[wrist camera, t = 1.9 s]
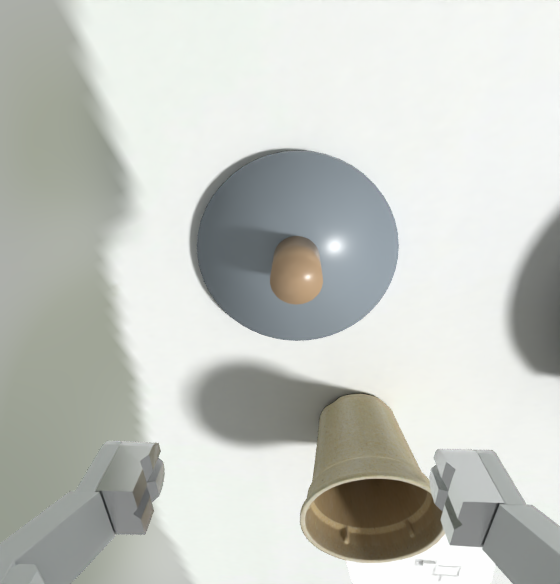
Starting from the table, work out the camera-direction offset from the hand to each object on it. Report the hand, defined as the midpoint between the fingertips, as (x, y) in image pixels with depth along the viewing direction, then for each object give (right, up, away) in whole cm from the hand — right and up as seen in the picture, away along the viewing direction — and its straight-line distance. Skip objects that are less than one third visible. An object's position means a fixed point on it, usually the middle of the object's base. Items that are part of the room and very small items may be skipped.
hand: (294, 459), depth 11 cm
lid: (+1, +8, +14) cm, 16 cm away
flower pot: (+6, -6, +20) cm, 22 cm away
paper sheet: (+9, -26, +31) cm, 42 cm away
